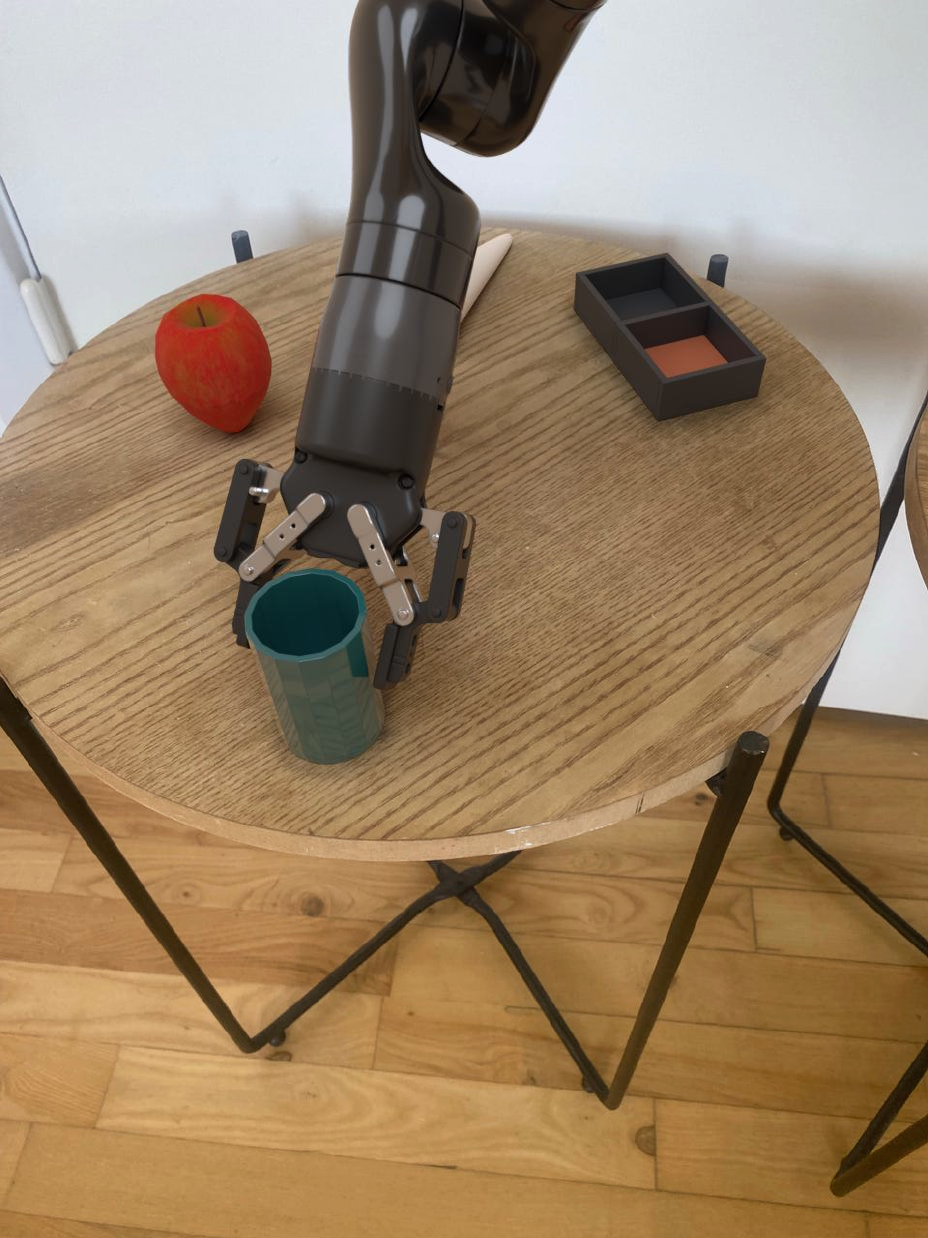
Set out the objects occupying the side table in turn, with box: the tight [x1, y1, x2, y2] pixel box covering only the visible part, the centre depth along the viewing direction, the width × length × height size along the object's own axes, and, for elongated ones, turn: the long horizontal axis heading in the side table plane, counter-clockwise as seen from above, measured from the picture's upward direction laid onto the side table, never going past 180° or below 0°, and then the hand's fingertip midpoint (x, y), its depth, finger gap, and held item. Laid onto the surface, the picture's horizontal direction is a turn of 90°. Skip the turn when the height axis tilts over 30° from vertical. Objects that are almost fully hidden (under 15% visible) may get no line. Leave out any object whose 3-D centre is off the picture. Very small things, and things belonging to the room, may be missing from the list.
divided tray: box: [573, 252, 767, 422], centre depth 80 cm, size 17×9×4 cm, turn 19°
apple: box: [154, 293, 273, 434], centre depth 73 cm, size 9×8×11 cm
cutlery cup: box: [244, 567, 386, 765], centre depth 54 cm, size 6×6×10 cm
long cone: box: [460, 233, 514, 324], centre depth 86 cm, size 6×6×19 cm
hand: (316, 667), depth 54 cm, fingers open, 8 cm apart
